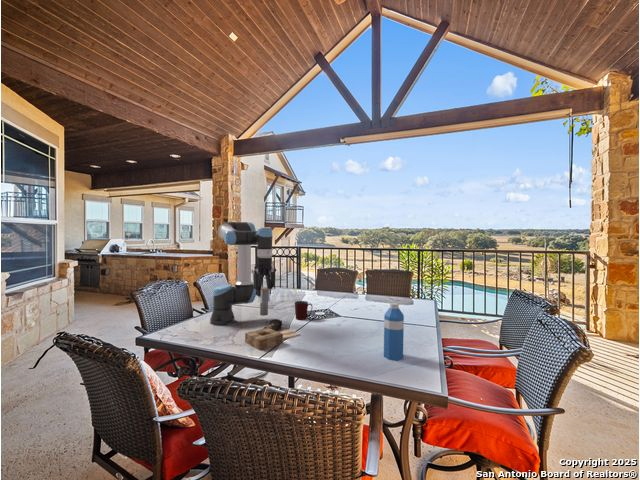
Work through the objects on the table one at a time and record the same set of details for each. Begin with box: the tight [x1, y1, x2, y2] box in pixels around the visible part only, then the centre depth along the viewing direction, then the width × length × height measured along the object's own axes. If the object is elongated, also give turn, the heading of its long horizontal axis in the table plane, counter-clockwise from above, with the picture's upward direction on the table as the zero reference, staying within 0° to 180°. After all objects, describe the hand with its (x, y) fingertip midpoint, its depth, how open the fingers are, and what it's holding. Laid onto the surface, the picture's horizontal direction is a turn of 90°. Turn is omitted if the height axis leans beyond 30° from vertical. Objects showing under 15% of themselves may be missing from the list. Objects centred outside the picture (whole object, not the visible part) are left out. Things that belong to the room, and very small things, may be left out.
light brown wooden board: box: [277, 328, 301, 341], centre depth 170 cm, size 12×12×1 cm
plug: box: [259, 286, 269, 316], centre depth 156 cm, size 4×4×14 cm
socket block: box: [244, 327, 284, 351], centre depth 156 cm, size 14×14×5 cm
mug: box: [294, 300, 313, 321], centre depth 203 cm, size 12×9×11 cm
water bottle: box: [383, 302, 405, 361], centre depth 141 cm, size 9×9×25 cm
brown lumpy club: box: [262, 318, 283, 331], centre depth 176 cm, size 18×7×6 cm, turn 161°
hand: (264, 301), depth 156 cm, fingers closed on plug, 4 cm apart
